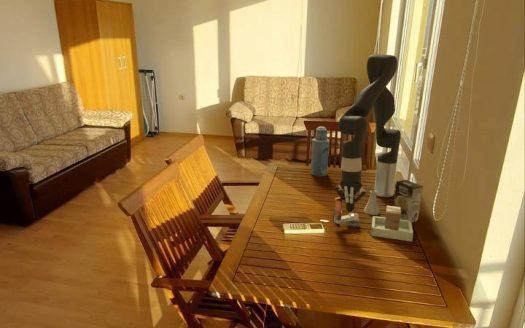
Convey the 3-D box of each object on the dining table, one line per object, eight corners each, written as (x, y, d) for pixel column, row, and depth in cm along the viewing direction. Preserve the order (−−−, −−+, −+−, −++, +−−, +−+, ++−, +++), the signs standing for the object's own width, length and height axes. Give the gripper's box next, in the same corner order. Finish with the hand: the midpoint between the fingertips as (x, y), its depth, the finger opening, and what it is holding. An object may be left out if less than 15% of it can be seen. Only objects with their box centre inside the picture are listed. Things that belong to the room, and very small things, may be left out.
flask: (380, 216, 160) (382, 195, 158) (363, 214, 162) (365, 193, 159) (379, 210, 167) (381, 189, 165) (363, 208, 169) (364, 188, 166)
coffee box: (391, 215, 161) (395, 181, 157) (401, 213, 164) (406, 179, 160) (407, 223, 153) (412, 187, 149) (418, 220, 156) (423, 185, 152)
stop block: (384, 226, 149) (386, 205, 146) (397, 228, 147) (400, 207, 145) (384, 231, 144) (386, 210, 142) (398, 233, 142) (400, 212, 140)
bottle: (317, 174, 219) (320, 124, 211) (330, 178, 212) (333, 127, 203) (306, 177, 213) (309, 126, 205) (319, 181, 206) (322, 129, 197)
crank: (353, 217, 153) (356, 192, 150) (361, 221, 150) (363, 195, 146) (330, 222, 148) (332, 196, 145) (337, 226, 144) (339, 200, 141)
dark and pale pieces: (321, 217, 158) (322, 206, 157) (359, 222, 154) (360, 211, 152) (319, 223, 153) (320, 212, 151) (358, 228, 148) (359, 217, 147)
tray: (371, 223, 153) (372, 215, 153) (410, 228, 149) (411, 220, 148) (371, 235, 142) (371, 227, 142) (412, 241, 138) (413, 233, 137)
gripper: (371, 168, 138) (369, 211, 142) (338, 164, 145) (338, 205, 149) (365, 172, 132) (363, 217, 136) (331, 168, 139) (330, 211, 143)
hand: (350, 211), depth 143 cm, fingers closed
